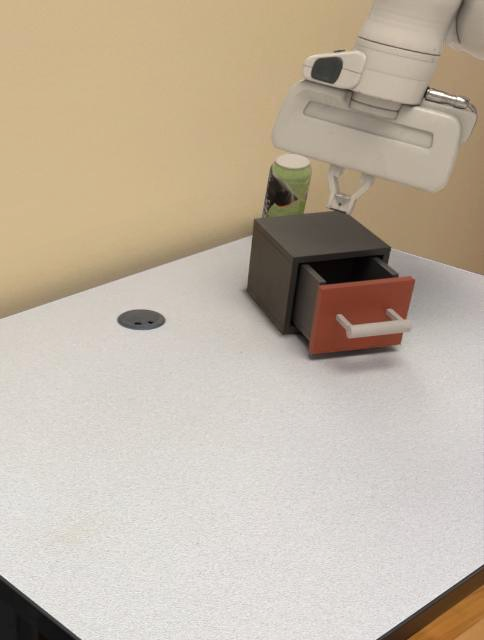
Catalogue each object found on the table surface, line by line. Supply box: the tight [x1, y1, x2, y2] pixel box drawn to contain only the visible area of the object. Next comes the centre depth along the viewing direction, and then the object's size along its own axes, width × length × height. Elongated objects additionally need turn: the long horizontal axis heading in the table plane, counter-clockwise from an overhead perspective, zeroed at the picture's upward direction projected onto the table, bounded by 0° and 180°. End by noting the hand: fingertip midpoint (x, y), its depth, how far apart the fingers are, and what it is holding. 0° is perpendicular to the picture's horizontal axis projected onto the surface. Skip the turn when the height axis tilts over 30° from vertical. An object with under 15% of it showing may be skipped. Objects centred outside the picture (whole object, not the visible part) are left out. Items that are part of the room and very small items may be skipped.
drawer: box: [291, 255, 416, 355], centre depth 106 cm, size 18×11×8 cm, turn 8°
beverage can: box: [261, 152, 313, 218], centre depth 133 cm, size 6×7×12 cm
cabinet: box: [246, 210, 392, 335], centre depth 115 cm, size 15×12×10 cm
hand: (338, 211), depth 104 cm, fingers closed
